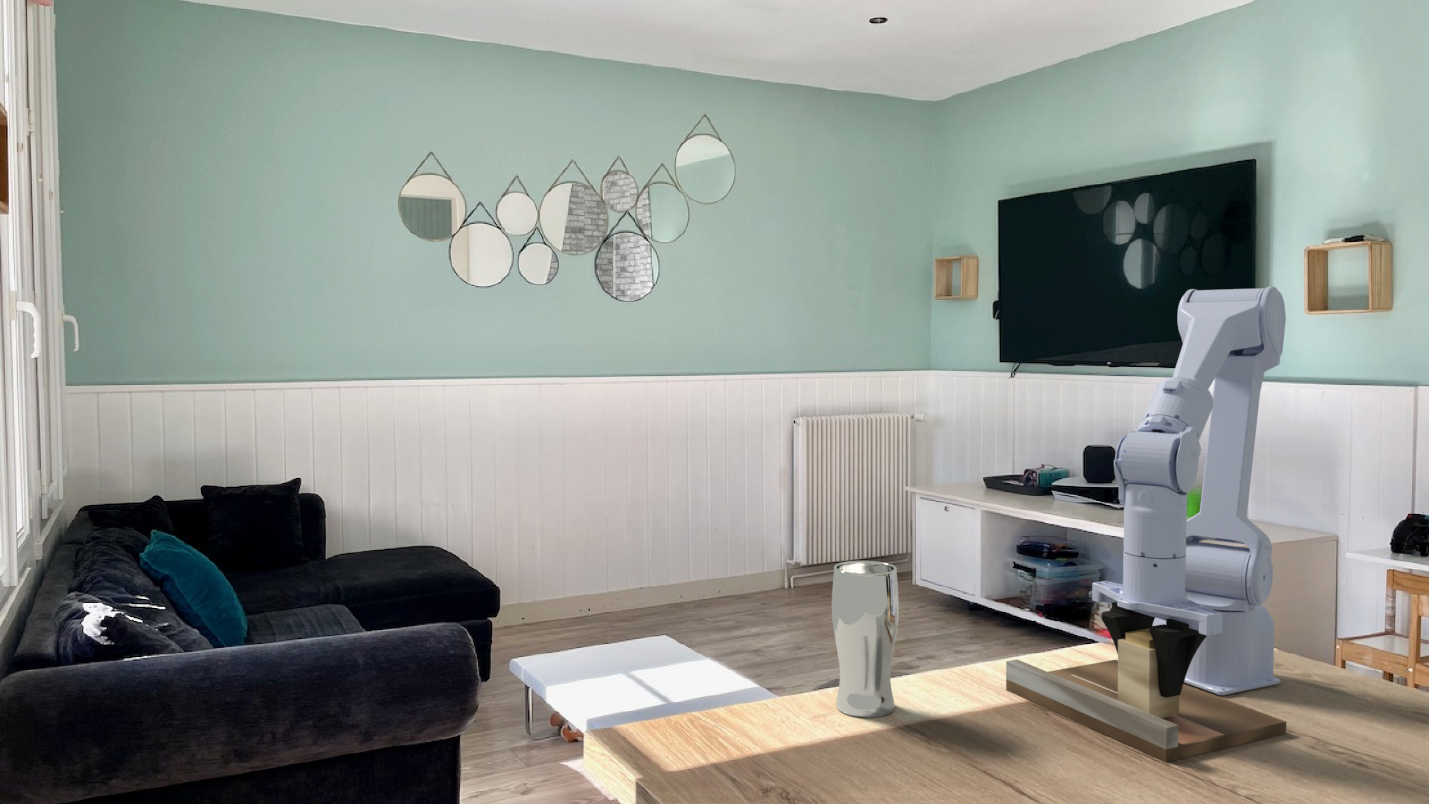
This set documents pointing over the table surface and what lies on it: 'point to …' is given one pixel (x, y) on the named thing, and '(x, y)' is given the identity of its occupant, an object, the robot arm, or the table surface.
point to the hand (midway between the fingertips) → (1151, 688)
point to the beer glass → (865, 635)
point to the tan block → (1142, 676)
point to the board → (1096, 705)
